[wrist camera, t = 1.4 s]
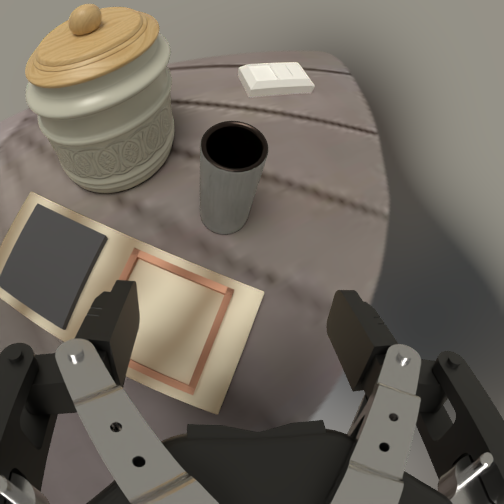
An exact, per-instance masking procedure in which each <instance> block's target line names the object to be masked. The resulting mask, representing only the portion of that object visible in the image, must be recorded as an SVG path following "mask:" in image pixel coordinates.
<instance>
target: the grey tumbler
mask: <svg viewBox="0 0 504 504" xmlns="http://www.w3.org/2000/svg"><path fill="white" fill-rule="evenodd" d="M267 155H268V144H267V141H266V139H265V137H264V135H263V134H262V133H261V132H260V131H259V130H258V129H256V128H255V127H253V126H251V125H249V124H247V123H243V122H239V121H226V122H221V123H218V124H216V125H214V126H212V127H211V128H209V129H208V130H207V131H206V132H205V134H204V135H203V137H202V139H201V145H200V216H201V220H202V222H203V223H204V225H205V226H206V227H207V228H208V229H209V230H211V231H213V232H215V233H218V234H231V233H234V232H236V231H238V230H239V229H241V228H242V227H243V225H244V224H245V222H246V220H247V218H248V215H249V211H250V208H251V205H252V202H253V199H254V196H255V192H256V189H257V186H258V183H259V180H260V177H261V174H262V171H263V168H264V164H265V161H266V158H267Z"/></svg>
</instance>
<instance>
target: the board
mask: <svg viewBox="0 0 504 504" xmlns="http://www.w3.org/2000/svg"><path fill="white" fill-rule="evenodd" d="M37 203H38V204H40V205H42V206H44V207H47V208H49V209H51V210H53V211H55V212H57V213H59V214H61V215H63V216H65V217H67V218H69V219H72V220H74V221H76V222H78V223H80V224H82V225H84V226H86V227H89V228H91V229H93V230H95V231H97V232H99V233H102V234H104V235H106V237H107V238H108V240H107V242H106V244H105V246H104V248H103V249H102V251H101V253H100V255H99V257H98V259H97V261H96V263H95V265H94V267H93V269H92V271H91V274H90V276H89V278H88V280H87V282H86V284H85V286H84V288H83V291H82V293H81V295H80V297H79V300H78V302H77V304H76V306H75V309H74V311H73V313H72V316H71V318H70V321H69V323H68V325H67V328H66V330H63V329H61V328H59V327H58V326H56V325H54V324H53V323H51V322H50V321H48V320H47V319H45V318H43V317H42V316H40V315H39V314H37V313H36V312H34V311H33V310H31V309H30V308H29V307H27V306H26V305H24V304H23V303H21V302H20V301H19V300H17V299H16V298H14V297H13V296H12V295H10V294H9V293H8V292H6V291H5V290H4V289H2V288H1V287H0V298H1V299H3V300H4V301H5V302H7V303H8V304H9V305H10V306H12V307H13V308H15V309H16V310H17V311H19V312H20V313H21V314H23V315H24V316H26V317H27V318H28V319H30V320H31V321H33V322H34V323H36V324H37V325H39V326H40V327H42V328H43V329H45V330H46V331H48V332H49V333H51V334H52V335H54V336H55V337H57V338H59V339H60V340H62V341H63V342H66V341H68V340H71V339H74V338H75V336H76V334H77V332H78V330H79V328H80V326H81V324H82V322H83V320H84V318H85V316H86V315H87V313H88V311H89V309H90V308H91V305H92V303H93V301H94V299H95V298H96V297H97V296H99V295H100V294H101V293H102V292H104V291H107V292H111V290H112V288H113V286H114V284H115V282H116V280H127V281H135V282H136V284H137V293H138V303H139V312H140V323H139V329H138V333H137V336H136V340H135V343H134V347H133V350H132V354H131V358H130V362H129V365H128V369H127V373H126V376H127V377H129V378H131V379H133V380H135V381H137V382H139V383H141V384H143V385H146V386H148V387H150V388H152V389H154V390H157V391H159V392H161V393H163V394H166V395H168V396H170V397H173V398H175V399H178V400H180V401H182V402H185V403H187V404H190V405H193V406H195V407H198V408H200V409H203V410H206V411H208V412H211V413H214V414H217V415H218V413H219V411H220V408H221V405H222V403H223V400H224V398H225V395H226V393H227V390H228V388H229V385H230V382H231V380H232V377H233V375H234V372H235V369H236V367H237V364H238V362H239V359H240V356H241V354H242V351H243V348H244V346H245V343H246V341H247V338H248V335H249V333H250V330H251V327H252V325H253V322H254V319H255V316H256V314H257V311H258V308H259V306H260V303H261V300H262V297H263V295H264V292H263V291H261V290H258V289H256V288H253V287H251V286H248V285H245V284H243V283H240V282H238V281H235V280H233V279H230V278H228V277H225V276H223V275H221V274H218V273H216V272H213V271H211V270H208V269H206V268H203V267H201V266H199V265H196V264H194V263H191V262H189V261H186V260H184V259H182V258H179V257H177V256H174V255H172V254H170V253H167V252H165V251H163V250H160V249H158V248H156V247H153V246H151V245H149V244H146V243H144V242H142V241H139V240H137V239H135V238H132V237H130V236H128V235H125V234H123V233H121V232H119V231H116V230H114V229H112V228H109V227H107V226H105V225H103V224H100V223H98V222H96V221H94V220H92V219H89V218H87V217H85V216H83V215H80V214H78V213H76V212H74V211H72V210H70V209H67V208H65V207H63V206H61V205H59V204H57V203H54V202H52V201H50V200H48V199H46V198H44V197H42V196H39V195H37V194H35V193H33V192H30V194H29V196H28V197H27V199H26V201H25V202H24V204H23V206H22V207H21V209H20V211H19V212H18V214H17V216H16V218H15V220H14V221H13V223H12V225H11V227H10V229H9V231H8V233H7V234H6V236H5V238H4V240H3V242H2V244H1V246H0V275H1V272H2V270H3V268H4V266H5V263H6V261H7V259H8V257H9V255H10V253H11V251H12V249H13V247H14V245H15V243H16V241H17V239H18V237H19V235H20V233H21V231H22V229H23V228H24V226H25V224H26V222H27V220H28V219H29V217H30V215H31V213H32V212H33V210H34V208H35V206H36V205H37Z"/></svg>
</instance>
